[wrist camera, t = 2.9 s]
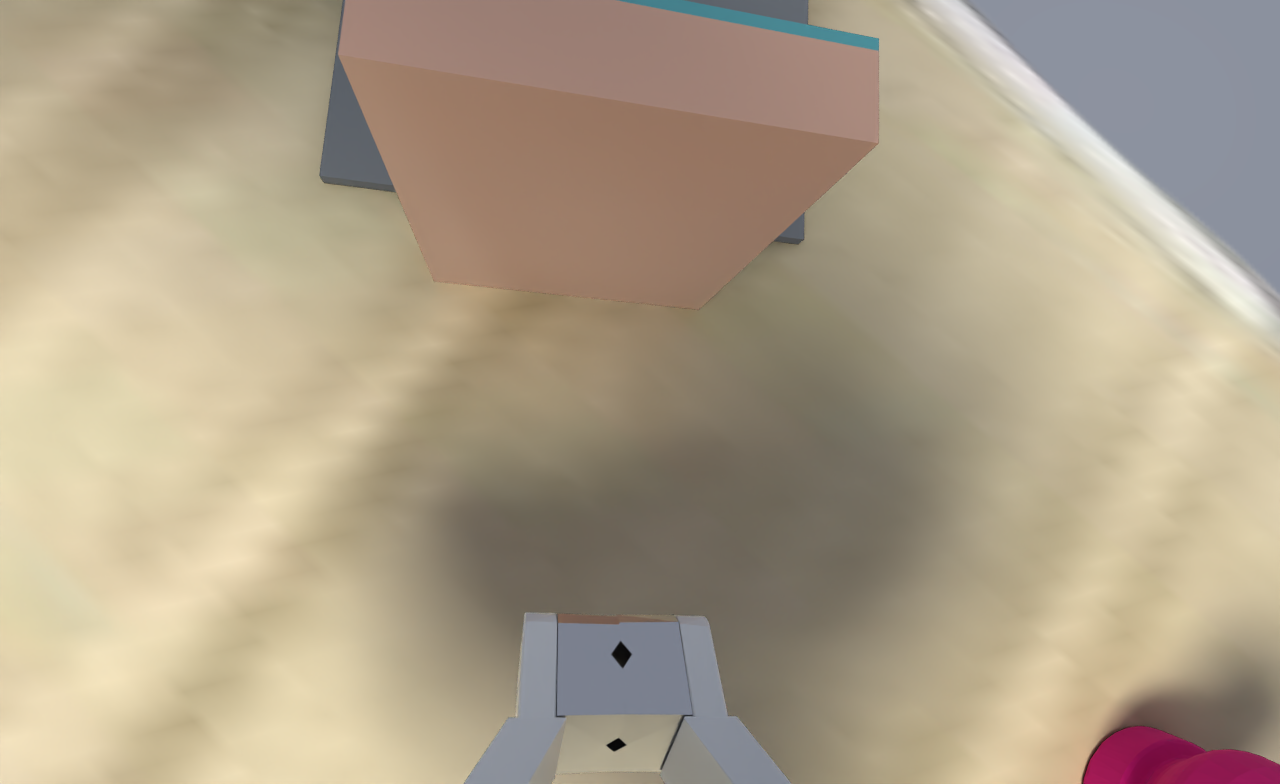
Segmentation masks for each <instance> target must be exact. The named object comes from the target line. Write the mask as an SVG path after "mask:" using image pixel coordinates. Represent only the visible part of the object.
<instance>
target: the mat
mask: <svg viewBox="0 0 1280 784" xmlns="http://www.w3.org/2000/svg"><path fill="white" fill-rule="evenodd" d="M685 1H690V2H695V3H700V4H705V5H710V6H715V7H720V8H725V9H730V10H736V11H741V12H746V13H751V14H756V15H761V16H766V17H771V18H776V19H781V20H786V21H792V22H797V23H802V24H807V25H808V0H685ZM344 7H345V0H343V5H342V12H341V20H340V27H339V34H338V42H337V49H336V57H335V64H334V71H333V79H332V86H331V94H330V101H329V108H328V116H327V123H326V131H325V138H324V145H323V153H322V160H321V168H320V175H319V176H320V177H321V179H322V180H323V182H324V183H330V184H338V185H345V186H353V187H361V188H368V189H376V190H384V191H391V192H396V190H395V188H394V186H393V183H392V181H391V179H390V176H389V174H388V171H387V169H386V167H385V164H384V162H383V160H382V157H381V155H380V153H379V150H378V148H377V145H376V143H375V141H374V138H373V136H372V134H371V131H370V129H369V127H368V124H367V122H366V120H365V117H364V115H363V112H362V110H361V108H360V105H359V103H358V101H357V98H356V96H355V94H354V91H353V89H352V86H351V84H350V82H349V79H348V77H347V75H346V72H345V70H344V68H343V65H342V63H341V60H340V58H339V56H338V51H339V44H340V36H341V29H342V21H343V14H344ZM803 240H804V213H803V214H802V215H801V216H800V217H799V218H798V219H796V220H795V221H794V222H793V223H792V224H791V225H790V226H789V227H788V228H787V229H786V230H785V231H783V232H782V233H781V234H780V235H779V236H778V237H777V238H776V239H775V240H774V241H776V242H784V243H792V244H799V243H800V242H801V241H803Z"/></svg>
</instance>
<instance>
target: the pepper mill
mask: <svg viewBox="0 0 1280 784" xmlns="http://www.w3.org/2000/svg"><path fill="white" fill-rule="evenodd" d="M1083 784H1280V765H1279V764H1277V763H1275V762H1273V761H1271V760H1268V759H1266V758H1264V757H1262V756H1259V755H1256V754H1252V753H1249V752H1245V751H1239V750H1232V749H1228V750H1211V751H1208V752H1206V751H1205V750H1204V749H1202V748H1201V747H1199V746H1197V745H1195V744H1193V743H1191V742H1188V741H1186V740H1183V739H1181V738H1178V737H1176V736H1173V735H1171V734H1168V733H1166V732H1163V731H1161V730H1158V729H1155V728H1151V727H1145V726H1136V727H1129V728H1125V729H1123V730H1120V731H1118V732H1116V733H1114V734H1113V735H1111V736H1110V737H1109V738H1107V739H1106V740H1105V741H1103V742H1102V744H1101V745H1100V746H1099V748H1098V749H1097V751H1096V752H1095V754H1094V755H1093V756H1092V758H1091V759H1090V762H1089V765H1088V767H1087V770H1086V773H1085V777H1084V782H1083Z"/></svg>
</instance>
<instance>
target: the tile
mask: <svg viewBox="0 0 1280 784" xmlns="http://www.w3.org/2000/svg"><path fill="white" fill-rule="evenodd" d="M338 56H339V58H340V60H341V63H342V65H343V68H344V70H345V72H346V75H347V77H348V79H349V82H350V84H351V86H352V89H353V91H354V94H355V96H356V98H357V101H358V103H359V105H360V108H361V110H362V112H363V115H364V117H365V120H366V122H367V124H368V127H369V129H370V131H371V134H372V136H373V138H374V141H375V143H376V145H377V148H378V150H379V153H380V155H381V157H382V160H383V162H384V164H385V167H386V169H387V171H388V174H389V176H390V179H391V181H392V183H393V186H394V188H395V190H396V193H397V195H398V197H399V200H400V202H401V205H402V207H403V209H404V212H405V214H406V216H407V219H408V221H409V223H410V226H411V228H412V231H413V233H414V235H415V238H416V240H417V242H418V245H419V247H420V249H421V252H422V254H423V256H424V259H425V261H426V264H427V266H428V268H429V271H430V273H431V275H432V278H433V280H434V281H435V282H444V283H454V284H463V285H472V286H482V287H491V288H500V289H510V290H519V291H528V292H538V293H547V294H557V295H566V296H575V297H585V298H594V299H603V300H613V301H622V302H631V303H641V304H650V305H659V306H669V307H678V308H688V309H697V310H699V309H700V308H701V307H702V306H703V305H705V304H706V303H707V302H708V301H709V300H710V299H711V298H712V297H713V296H714V295H715V294H716V293H718V292H719V291H720V290H721V289H722V288H723V287H724V286H725V285H726V284H727V283H728V282H729V281H731V280H732V279H733V278H734V277H735V276H736V275H737V274H738V273H739V272H740V271H741V270H742V269H743V268H745V267H746V266H747V265H748V264H749V263H750V262H751V261H752V260H753V259H754V258H755V257H756V256H758V255H759V254H760V253H761V252H762V251H763V250H764V249H765V248H766V247H767V246H768V245H769V244H770V243H772V242H773V241H774V240H775V239H776V238H777V237H778V236H779V235H780V234H781V233H782V232H783V231H785V230H786V229H787V228H788V227H789V226H790V225H791V224H792V223H793V222H794V221H795V220H796V219H798V218H799V217H800V216H801V215H802V214H803V213H804V212H805V211H806V210H807V209H808V208H809V207H810V206H812V205H813V204H814V203H815V202H816V201H817V200H818V199H819V198H820V197H821V196H822V195H823V194H825V193H826V192H827V191H828V190H829V189H830V188H831V187H832V186H833V185H834V184H835V183H836V182H838V181H839V180H840V179H841V178H842V177H843V176H844V175H845V174H846V173H847V172H848V171H849V170H850V169H852V168H853V167H854V166H855V165H856V164H857V163H858V162H859V161H860V160H861V159H862V158H863V157H865V156H866V155H867V154H868V153H869V152H870V151H871V150H872V149H873V148H874V147H875V146H876V145H878V144H879V39H878V38H873V37H868V36H863V35H858V34H853V33H848V32H842V31H837V30H832V29H827V28H822V27H817V26H812V25H807V24H802V23H797V22H792V21H786V20H781V19H776V18H771V17H766V16H761V15H756V14H751V13H746V12H741V11H736V10H730V9H725V8H720V7H715V6H710V5H705V4H700V3H695V2H690V1H685V0H345V7H344V14H343V21H342V29H341V36H340V44H339V51H338Z"/></svg>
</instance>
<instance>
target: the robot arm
mask: <svg viewBox="0 0 1280 784" xmlns="http://www.w3.org/2000/svg"><path fill="white" fill-rule="evenodd" d="M595 772H661V773H660V776H661V778H662V780H663V781H664V783H665V784H791V782H790V781H789V780H788V779H787V777H786V776H785V775H784V774H783V772H782V771H781V770H780V769H779V767H778V766H777V765H776V764H775V763H774V761H773V760H772V759H771V758H770V756H769V755H768V754H767V753H766V751H765V750H764V749H763V748H762V747H761V745H760V744H759V743H758V742H757V740H756V739H755V738H754V737H753V735H752V734H751V733H750V732H749V731H748V729H747V728H746V727H745V726H744V724H743V723H742V722H741V721H740V719H739V718H738V717H737V716H728V713H727V708H726V703H725V698H724V693H723V688H722V684H721V679H720V674H719V669H718V664H717V659H716V654H715V649H714V644H713V639H712V634H711V629H710V624H709V622H708V620H707V619H706V617H704V616H674V615H595V614H556V613H526V612H525V614H524V623H523V632H522V641H521V650H520V660H519V670H518V681H517V696H516V711H515V717H510V718H508V719H507V720H506V722H505V723H504V725H503V726H502V727H501V729H500V730H499V732H498V733H497V735H496V736H495V738H494V739H493V741H492V742H491V744H490V745H489V747H488V748H487V750H486V751H485V753H484V754H483V756H482V757H481V759H480V760H479V762H478V763H477V764H476V766H475V767H474V769H473V770H472V772H471V773H470V775H469V776H468V778H467V779H466V781H465V782H464V784H552V782H553V780H554V779H555V774H575V773H595Z"/></svg>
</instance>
